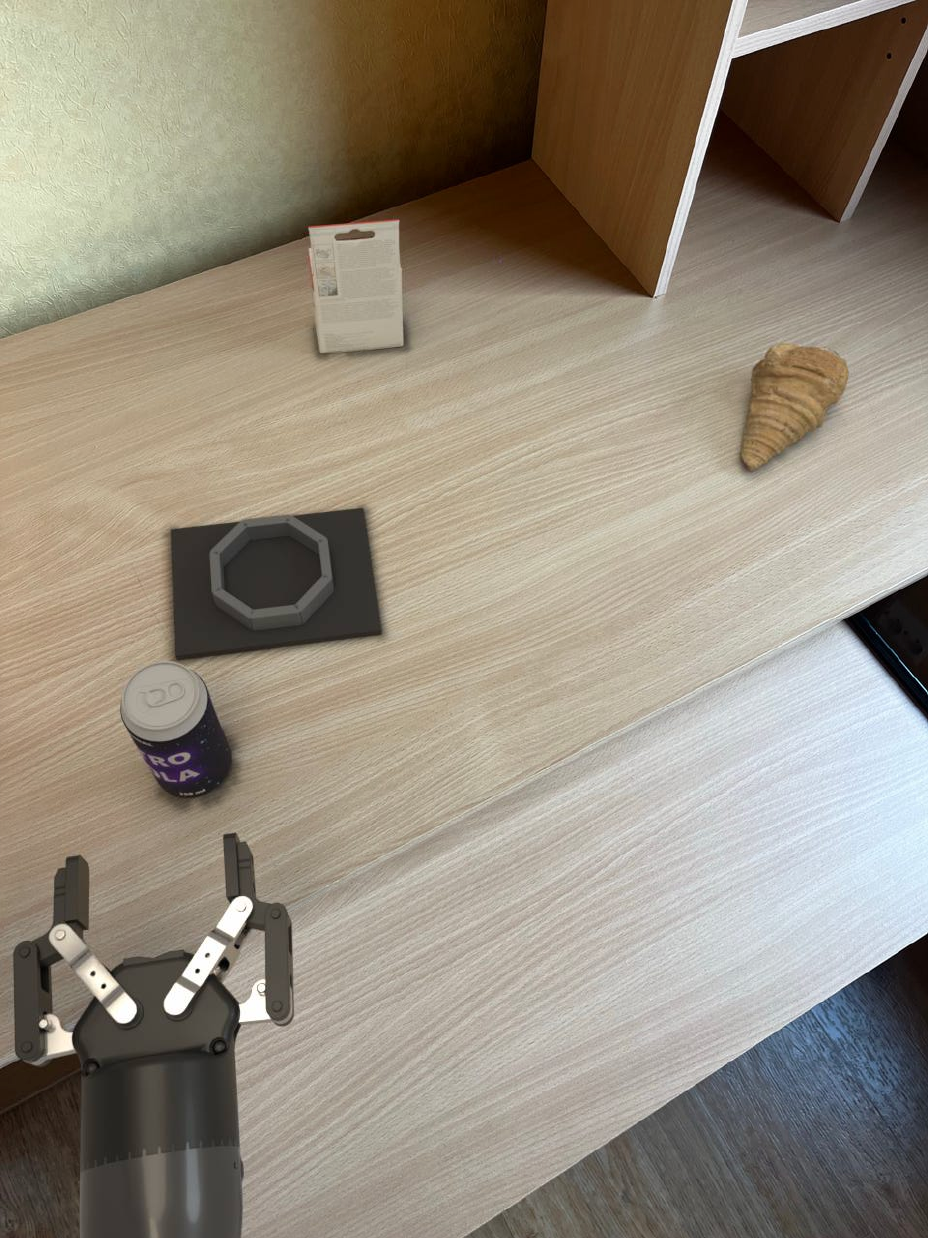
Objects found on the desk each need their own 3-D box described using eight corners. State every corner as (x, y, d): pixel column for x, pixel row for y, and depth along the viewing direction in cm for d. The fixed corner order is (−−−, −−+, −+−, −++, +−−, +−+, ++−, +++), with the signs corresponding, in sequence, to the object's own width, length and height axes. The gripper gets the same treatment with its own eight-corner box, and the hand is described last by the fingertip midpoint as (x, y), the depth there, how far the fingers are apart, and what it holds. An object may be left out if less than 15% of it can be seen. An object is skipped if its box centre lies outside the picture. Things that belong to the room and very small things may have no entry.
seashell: (742, 491, 98) (827, 498, 93) (710, 450, 92) (799, 456, 87) (783, 360, 100) (868, 360, 96) (754, 312, 94) (844, 309, 89)
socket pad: (177, 660, 82) (169, 643, 80) (172, 534, 88) (165, 514, 86) (381, 634, 84) (380, 617, 82) (363, 512, 90) (362, 492, 88)
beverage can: (146, 746, 79) (105, 672, 68) (220, 720, 80) (191, 643, 70) (167, 814, 76) (127, 748, 66) (243, 785, 77) (216, 716, 67)
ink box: (316, 328, 100) (301, 198, 88) (399, 321, 101) (396, 191, 89) (319, 357, 99) (305, 228, 86) (404, 349, 99) (402, 221, 87)
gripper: (300, 1135, 49) (274, 806, 57) (-18, 1192, 48) (1, 845, 56) (315, 1147, 56) (289, 850, 64) (35, 1197, 54) (45, 886, 62)
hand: (155, 848), depth 60 cm, fingers open, 8 cm apart
